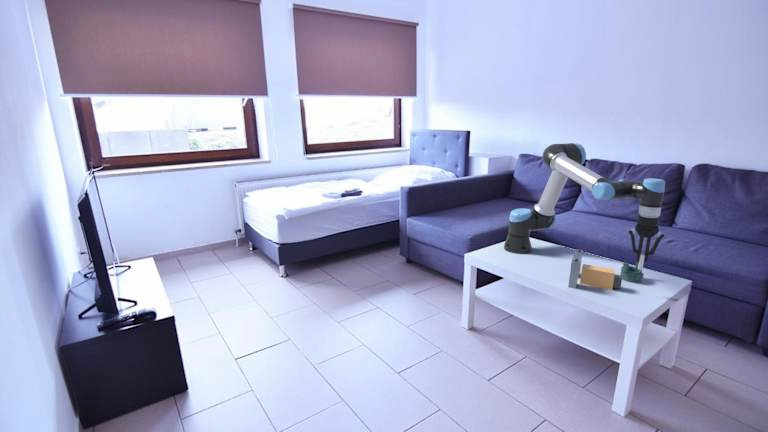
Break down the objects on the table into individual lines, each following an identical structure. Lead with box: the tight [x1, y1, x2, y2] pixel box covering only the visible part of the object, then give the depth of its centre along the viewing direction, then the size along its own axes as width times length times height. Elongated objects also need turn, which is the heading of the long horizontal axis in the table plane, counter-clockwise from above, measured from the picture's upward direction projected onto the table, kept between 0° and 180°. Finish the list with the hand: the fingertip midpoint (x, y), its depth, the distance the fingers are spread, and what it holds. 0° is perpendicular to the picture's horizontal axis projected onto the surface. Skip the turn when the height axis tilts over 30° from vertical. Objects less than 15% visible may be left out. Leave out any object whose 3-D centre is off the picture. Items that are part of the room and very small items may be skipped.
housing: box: [568, 248, 584, 289], centre depth 181 cm, size 18×3×13 cm, turn 149°
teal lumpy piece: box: [619, 260, 644, 284], centre depth 183 cm, size 9×9×9 cm
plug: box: [579, 263, 623, 291], centre depth 177 cm, size 6×16×8 cm, turn 59°
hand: (640, 268), depth 167 cm, fingers closed
